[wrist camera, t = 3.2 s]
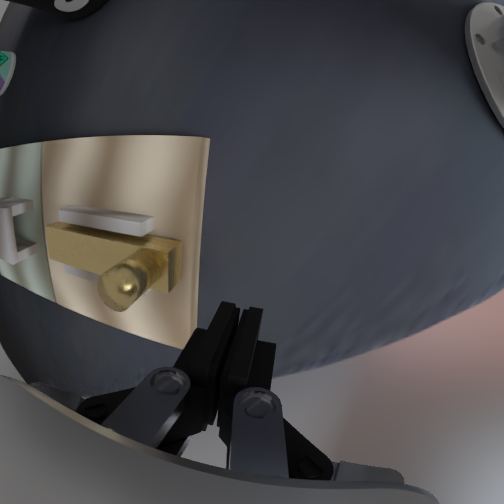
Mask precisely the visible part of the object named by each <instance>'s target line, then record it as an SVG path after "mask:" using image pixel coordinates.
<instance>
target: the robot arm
mask: <svg viewBox="0 0 504 504" xmlns="http://www.w3.org/2000/svg"><path fill="white" fill-rule="evenodd" d="M465 40H466V45H467V49H468V54H469V58H470V61H471V64H472V67H473V70H474V73H475V75H476V77H477V80H478V82H479V85H480V87H481V90H482V91H483V93H484V95H485V97H486V99H487V101H488V104H489V106H490V107H491V109H492V111H493V112H494V114H495V116H496V118H497V119H498V121H499V123H500V124H501V125H502V127H503V128H504V6H502V5H499V4H496V3H493V2H482V3H480V4H478V5H476V6H475V7H474V8H472V9H471V10H470V11H469V13H468V15H467V17H466V21H465ZM262 313H263V309H260V308H255V307H250V308H249V310H246V309H244V310H243V313H242V316H241V319H240V322H239V314H240V308H236V304H234V303H229V302H224V301H222V302H221V304H220V306H219V308H218V310H217V312H216V314H215V316H214V318H213V320H212V321H211V323H210V325H209V327H208V329H207V330H205V329H201V328H196V329H195V330H194V332H193V333H192V335H191V337H190V338H189V340H188V342H187V344H186V345H185V347H184V349H183V351H182V352H181V354H180V356H179V358H178V359H177V361H176V363H175V365H174V366H173V367H161V368H157V369H155V370H153V371H151V372H150V373H149V374H148V375H147V376H146V377H145V378H144V379H143V380H142V381H141V382H140V383H139V385H138V386H137V387H135V388H131V389H126V390H122V391H118V392H113V393H108V394H104V395H99V396H94V397H90V398H87V399H83V398H82V396H81V395H77V394H74V393H71V392H67V391H64V390H61V389H58V388H55V387H52V386H49V385H46V384H43V383H38V382H37V383H32V384H30V385H28V384H26V383H24V382H21V381H18V380H16V379H13V378H11V377H7V376H3V375H0V504H440V503H439V501H438V499H437V498H436V497H435V496H434V495H433V494H432V493H430V492H429V491H427V490H425V489H422V488H420V487H416V486H413V485H409V484H405V483H404V478H403V476H402V475H401V474H400V473H399V472H398V471H396V470H393V469H390V468H381V467H374V466H367V465H361V464H355V463H350V462H345V461H340V462H339V463H337V462H332V461H331V460H330V459H329V458H328V457H327V456H326V455H325V454H324V453H322V452H321V451H320V450H319V449H318V448H316V447H315V446H314V445H313V444H312V443H310V441H308V440H307V439H306V438H305V437H304V436H303V435H302V434H300V433H299V432H298V431H297V430H296V429H295V428H294V427H292V425H291V424H290V423H289V422H287V421H286V420H285V419H284V418H283V414H282V405H281V402H280V399H279V398H278V397H277V395H275V394H274V393H273V392H271V391H270V388H271V380H272V373H273V366H274V358H275V350H276V343H270V342H264V341H259V340H258V336H259V330H260V325H261V319H262ZM238 322H239V325H238ZM217 411H218V418H217V419H218V420H217V426H218V427H220V430H219V437H220V438H221V440H222V441H223V442H224V443H225V445H226V446H227V451H226V452H227V453H226V466H225V468H220V467H215V466H211V465H207V464H203V463H200V462H196V461H192V460H189V459H185V458H182V457H181V455H182V454H183V452H184V451H185V449H186V447H187V446H188V444H189V442H190V441H191V438H192V435H194V434H197V433H199V432H201V430H202V431H206V428H207V425H208V424H209V425H213V423H214V420H215V417H216V414H217Z"/></svg>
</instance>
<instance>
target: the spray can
mask: <svg viewBox="0 0 504 504" xmlns="http://www.w3.org/2000/svg"><path fill="white" fill-rule="evenodd" d="M15 64H16V55H15V53H14V52H9V51H0V96H1V95H2V94H3V93H4V92H5V90H6V89H7V87H8V85H9V83H10V81H11V78H12V76H13V72H14V69H15Z"/></svg>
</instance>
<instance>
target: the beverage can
mask: <svg viewBox="0 0 504 504" xmlns="http://www.w3.org/2000/svg"><path fill="white" fill-rule="evenodd" d="M6 1H11V2H15V3H19V4H23V5H27V6H30V7H34V8H37V9H41V10H44V11H47V12H50V13H53V14H56V15H59V16H62V17H65V18H67V19H79V18H81V17H84V16H86V15H89V14H91V13H93V12H95V11H96V10H98V9H99V8H101V7H102V6H103V5H104V4H105V3H107V2H108V1H109V0H6Z"/></svg>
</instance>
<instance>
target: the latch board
mask: <svg viewBox="0 0 504 504" xmlns="http://www.w3.org/2000/svg"><path fill="white" fill-rule="evenodd" d="M209 145H210V138H204V137H193V136H166V135H125V136H100V137H84V138H72V139H62V140H53V141H45V142H37V143H31V144H24V145H18V146H13V147H7V148H2V149H0V272H1V275H3V276H4V277H6V278H8V279H10V280H12V281H13V282H15V283H17V284H19V285H21V286H23V287H25V288H27V289H28V290H30V291H32V292H34V293H36V294H38V295H40V296H42V297H45V298H47V299H49V300H51V301H53V302H56V301H57V304H59V305H62V306H64V307H66V308H68V309H71V310H73V311H75V312H78V313H80V314H82V315H85V316H87V317H90V318H92V319H95V320H97V321H100V322H102V323H105V324H107V325H110V326H113V327H115V328H118V329H121V330H124V331H127V332H129V333H132V334H135V335H138V336H141V337H144V338H147V339H150V340H153V341H156V342H160V343H163V344H166V345H170V346H173V347H176V348H180V349H184V347H185V345H186V344H187V342H188V340H189V338H190V337H191V335H192V333H193V332H194V330H195V329H196V328H197V306H198V281H199V262H200V245H201V231H202V217H203V205H204V194H205V183H206V173H207V163H208V154H209ZM58 221H60V222H66V223H71V224H76V225H81V226H86V227H91V228H97V229H102V230H107V231H112V232H118V233H123V234H128V235H134V236H139V237H142V236H144V235H149V236H155V237H160V238H166V239H171V240H177V241H182V263H181V280H180V281H179V283H178V284H177V285H176V286H175V287H174V288H173V289H172V290H171V291H170V292H169V293H164V292H160V291H156V290H153V289H148V290H147V291H146V292H145V293H144V294H143V295H141V296H140V297H139V298H138V299H137V300H136V301H135V302H134V303H133V304H132V305H131V306H130V307H129V308H128V309H127V310H126V311H123V312H117V311H114V310H112V309H110V308H109V307H107V306H106V305H105V304H104V302H103V301H102V300H101V298H100V296H99V294H98V291H97V279H98V277H99V276H100V275H99V274H96V273H92V272H89V271H86V270H83V269H79V268H76V267H73V266H70V265H67V264H64V263H61V262H58V261H55V260H52V259H50V258H49V251H48V244H47V235H46V226H47V225H50V224H52V223H55V222H58Z"/></svg>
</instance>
